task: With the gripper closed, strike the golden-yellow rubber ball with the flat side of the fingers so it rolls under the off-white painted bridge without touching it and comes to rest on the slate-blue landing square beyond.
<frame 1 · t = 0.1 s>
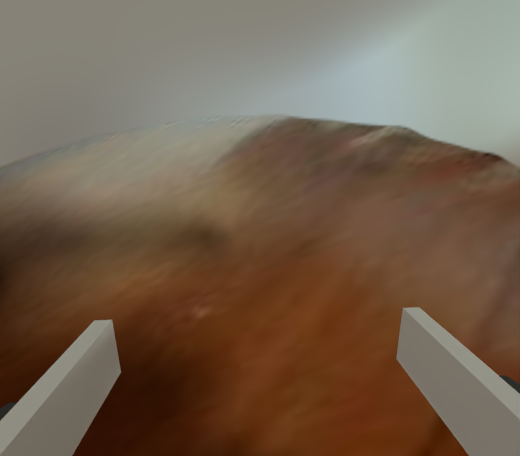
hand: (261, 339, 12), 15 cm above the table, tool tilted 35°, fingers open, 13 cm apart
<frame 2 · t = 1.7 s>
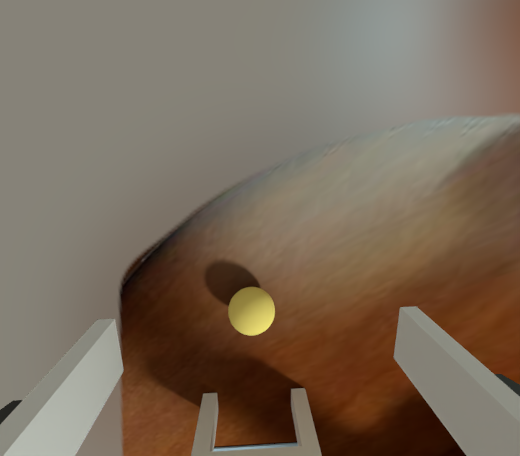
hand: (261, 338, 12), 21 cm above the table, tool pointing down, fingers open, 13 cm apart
ball: (251, 310, 33), on the table
bridge: (254, 399, 39), on the table
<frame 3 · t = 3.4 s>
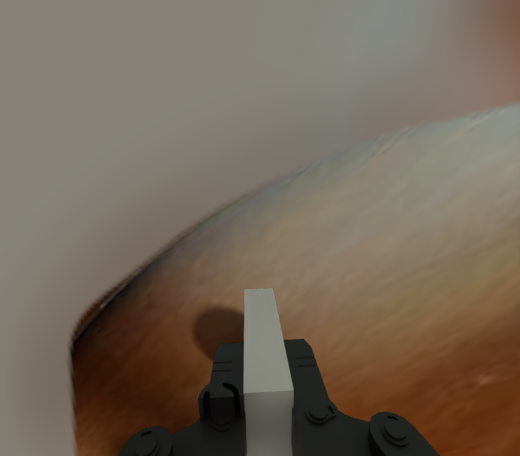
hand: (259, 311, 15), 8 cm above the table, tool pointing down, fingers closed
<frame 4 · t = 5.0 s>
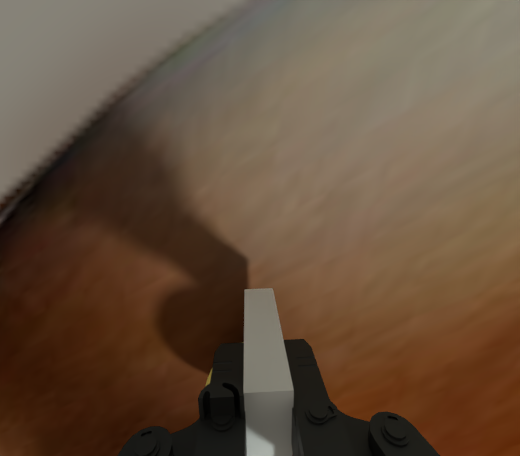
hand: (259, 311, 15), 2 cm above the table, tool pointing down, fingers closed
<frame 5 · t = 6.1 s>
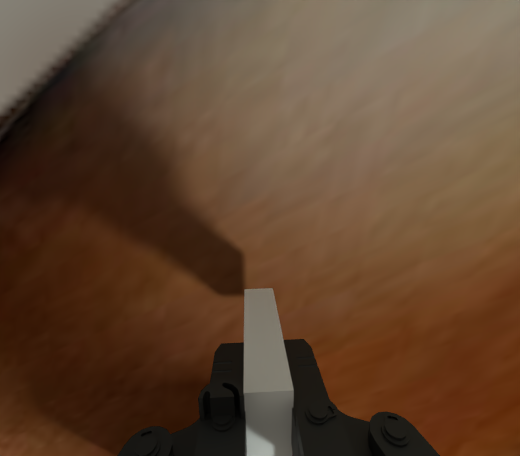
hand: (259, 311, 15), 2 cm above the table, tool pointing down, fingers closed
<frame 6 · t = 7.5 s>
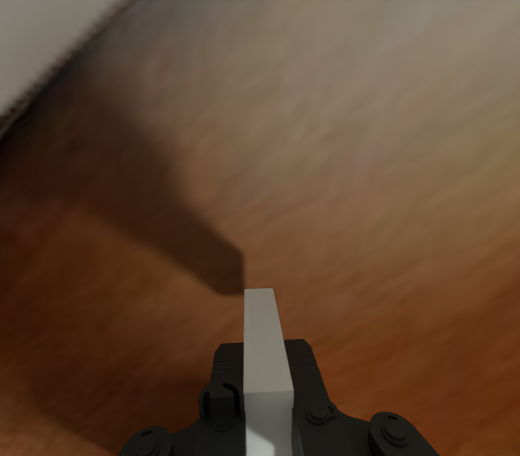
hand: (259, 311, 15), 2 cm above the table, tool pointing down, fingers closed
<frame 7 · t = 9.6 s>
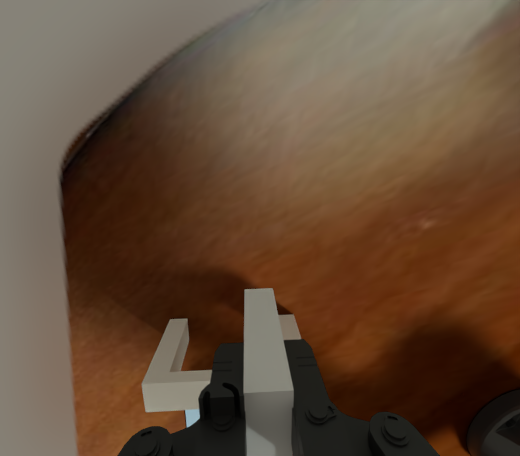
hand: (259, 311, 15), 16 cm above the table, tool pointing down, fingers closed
bridge: (233, 327, 33), on the table
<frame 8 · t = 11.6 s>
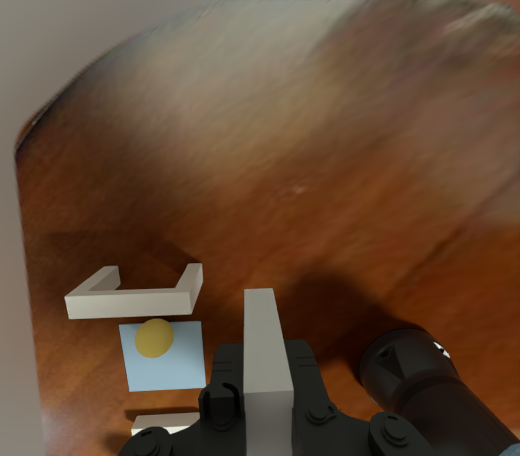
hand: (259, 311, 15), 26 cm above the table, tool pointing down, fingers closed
ball: (154, 337, 41), on the table
bridge: (154, 273, 42), on the table
stopper: (171, 418, 49), on the table
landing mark: (164, 356, 45), on the table
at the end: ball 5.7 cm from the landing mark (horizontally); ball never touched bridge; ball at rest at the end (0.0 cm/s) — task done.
